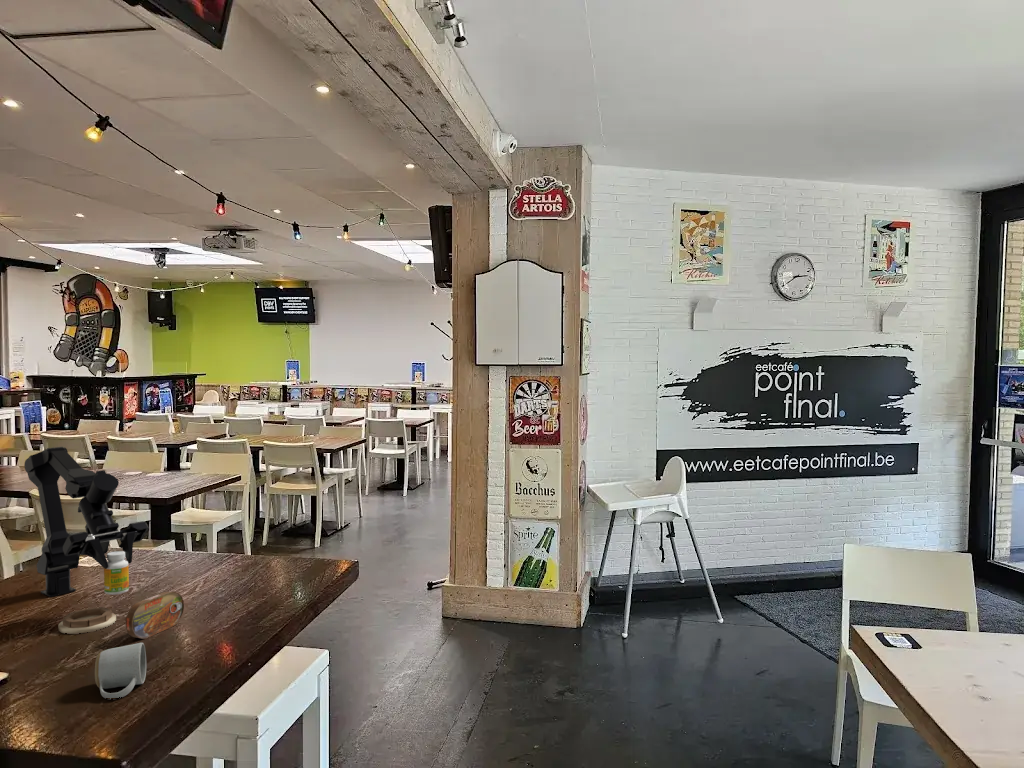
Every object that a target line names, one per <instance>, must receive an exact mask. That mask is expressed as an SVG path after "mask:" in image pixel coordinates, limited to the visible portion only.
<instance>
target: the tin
mask: <svg viewBox="0 0 1024 768" xmlns="http://www.w3.org/2000/svg"><path fill="white" fill-rule="evenodd" d="M184 609H185V602H184V598H183V596H182V595H181V594H180V593H179V592H177V591H164V592H161V593H158V594H156V595H154V596H150V597H148V598H146V599H143V600H140V601H138V602H136V603H134V604H133V605H132V606H131V607H130V608H129V610H128V611H127V613H126V616H125V629H126V632H127V634H128V635H129V636H130V637H132V638H136V639H142V640H144V639H146V640H147V639H149V638H151V637H153V636H156V635H157V633H158V634H159V633H161V632H164V631H166V630H168V629H170V628H173V627H174V626H176V625H177V624H178V623H179V622H180V620H181V619H182V616H183V614H184ZM148 637H149V638H148Z"/></svg>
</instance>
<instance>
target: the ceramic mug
mask: <svg viewBox="0 0 1024 768" xmlns="http://www.w3.org/2000/svg"><path fill="white" fill-rule="evenodd" d="M94 662H95V664H94V665H95V666H94V680H95V684H96V686H97V687H98V688H99V691H100V695H101V697H103V698H104V699H106V698H110V699H109V700H111V698H119V697H120V698H119V699H121V697H122V698H124V697H126V696H127V695H129V694H130V693H131V692H132V691H133V689H134V687H135V686H137V685H138V686H139V685H143V684H144V682H145V680H146V677H147V675H146V674H147V654H146V646H145V644H144V642H138V643H134V644H133V643H132V644H128V645H127V644H126V645H121V646H119V647H113V648H108V649H105V650H102V651H99V652H98V654H97V655H96V658H95V661H94ZM121 687H125V688H123V689H122V690H119V691H118V692H117V691H116V692H111V693H110V692H107V691H105V690H104V689H106V690H107V689H114V688H121Z"/></svg>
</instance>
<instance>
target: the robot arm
mask: <svg viewBox="0 0 1024 768" xmlns="http://www.w3.org/2000/svg"><path fill="white" fill-rule="evenodd" d="M24 471H25V472H26V473H27V476H28V480H29V481H30V482H31V483H33V484H34V485H35V486H36V487H37V492H38V497H39V502H40V503H39V504H40V508H41V512H42V513H41V514H42V518H43V525H44V529H45V535H46V538H45V540H44V543H43V545H42V547H41V555H40V557H39V559H38V562H37V563H36V571H37V573H38V574H41V575H43V576H45V589H43V590H41V591H40V594H42V595H45V596H46V597H47V596H48V597H49V598H53V597H56V596H61V595H64V594H68V593H72V592H76V591H77V589H76V588H74V587H72V586H71V570H73V569H78V567H79V565H80V564H79V563H80V557H81V556H88V557H90V558H92V559H93V560H95V561H96V562H97V563H98V564H99V565H100V566H101V567H102V568H103V569H104V568H105V569H107V568H108V563H107V562H108V560H107V556H106V554H108V551H109V545H110V542H111V541H115V540H119V541H120V544H119V545H118V548H120V549H122V551H124V552H125V560H127V561H128V563H129V564H131V563H132V562H133V549H134V543H138V542H141V541H142V540H143V539H144V537H145V536H146V535H147V532H148V530H149V529H150V528H149V525H148V524H147V522H146V521H144V520H143V521H136V522H130V523H129V524H128V525H127V527H126V529H121V530H118V529H119V527H120V525H119V523H118V522H115V520H114V518H113V515H114V511H113V509H109V507H108V505H107V504H108V503H109V502H110V501H111V500H112V498H113V495H114V493H115V492H116V490H117V488H118V486H119V484H120V483H119V480H118V478H117V477H115V476H114V475H113V474H110V473H106V470H97V471H96V472H95V471H92V470H88V469H84V468H83V467H82V466H81V465H80V464H79V463H78V462H77V461H76V460H75V458H73V457H72V455H70V454H69V451H68V449H67V448H66V447H63V446H57V447H55V446H54V447H47V448H46V449H43V450H42V451H39V452H37V453H35V454H31V455H30V456H28V458H26V459H25V460H24ZM61 477H62V479H63V480H64V482H65V488H64V489H65V491H66V493H67V495H68V496H69V497H70V498H71V499H73V500H74V499H80V498H81V499H80V501H79V503H78V508H77V513H82V516H83V518H84V521H85V527H84V529H85V531H79V532H75V533H74V532H73V533H68V531H67V527H66V522H65V515H64V511H63V506H62V500H61V495H60V490H59V484H58V481H59V479H60V478H61Z"/></svg>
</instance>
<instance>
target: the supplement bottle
mask: <svg viewBox="0 0 1024 768" xmlns="http://www.w3.org/2000/svg"><path fill="white" fill-rule="evenodd" d="M106 559H107V563H108V568H107V569H105V568H103V587H104V588H103V591H104V594H106V595H110V596H112V595H113V596H114V595H121V594H124V593H126V592H128V591H129V589H130V579H129V578H130V577H129V575H130V574H129V573H130V571H129V567H130V566H129V563H128V561H127V559H126V557H125V552H124V551H123V550H117V551H110V552H107V553H106Z"/></svg>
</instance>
